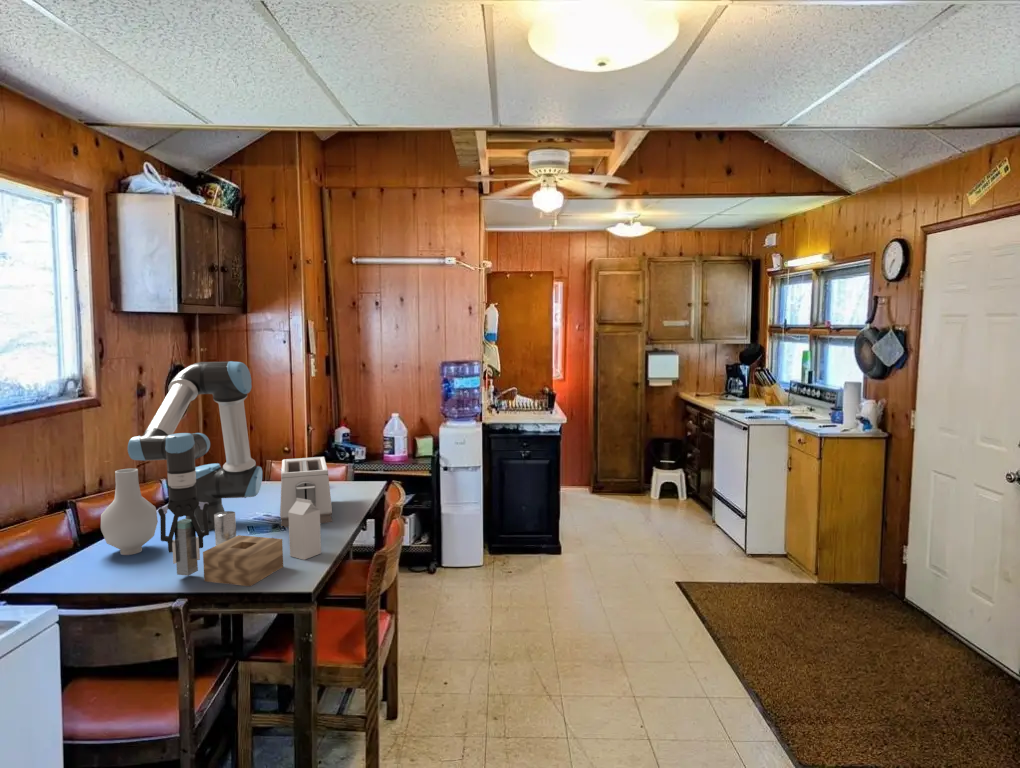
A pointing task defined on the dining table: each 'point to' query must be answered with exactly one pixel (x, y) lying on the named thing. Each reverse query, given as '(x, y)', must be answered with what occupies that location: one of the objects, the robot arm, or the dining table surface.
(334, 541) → the dining table surface
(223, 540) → the round bit
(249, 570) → the socket block
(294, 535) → the milk carton
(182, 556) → the square bit
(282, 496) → the toaster
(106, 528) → the vase
